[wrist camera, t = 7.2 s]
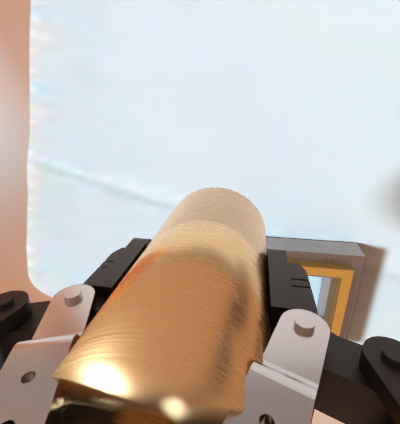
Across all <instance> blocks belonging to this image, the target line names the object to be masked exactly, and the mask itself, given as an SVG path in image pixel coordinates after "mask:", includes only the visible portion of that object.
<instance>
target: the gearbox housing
mask: <svg viewBox="0 0 400 424" xmlns="http://www.w3.org/2000/svg"><path fill="white" fill-rule="evenodd" d="M267 249H279V250H286V255H287V261H288V262H290V263H299V264H300V265H301V266H302V267H303V268H304V269H305V270H306V272H307V275H308V276H318V277H323V278H322V284H321V290H320V295H319V301H318V307H317V311H318V315H319V316H320V317H321V318H322V319H324V321H325V322H326V323H327V324H328V326H329V329H330V331H331V332H332V333H334V334H335V335H337V336H339V337H341V338H344V339H347V335H348V331H349V327H350V323H351V318H352V314H353V310H354V306H355V302H356V297H357V293H358V289H359V285H360V280H361V276H362V272H363V268H364V264H365V259H366V256H365V254H364V253H363V251H362V250H361V248H360V247H359V245H358V244H357V243H348V242H334V241H319V240H305V239H290V238H276V237H266V253H267Z"/></svg>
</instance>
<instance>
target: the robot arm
mask: <svg viewBox="0 0 400 424" xmlns="http://www.w3.org/2000/svg"><path fill="white" fill-rule="evenodd" d="M151 241H152V240H151V239H141V238H134V239H133V240H132V241H131V242H130V243H129V244H128V245H127V246H126V248H121V249H119V250H117V251H115V252H114V253H112V254H111V255H110V256H109V257H108V258H107V259H106V261H104V262H103V263H102V265H101V266H100V267H99V268H98V269H97V270H96V271H95V272H94V273H93V274H92V275H91V276H90V277H89V278H88V279H87V280H86V281H85V283H84V284H79V285H73V286H69V287H67V288H64V289H62V290H61V291H59V292H58V293H57V294H55V295H54V297H53V298H52V300H51V301H45V302H36V303H30V300H29V297H28V294H27V293H26V292H24V291H10V292H5V293H2V294H0V424H113V421H109V420H110V418H111V416H112V414H113V412H109V411H104V410H99V409H94V408H90V407H85V406H80V405H75V404H70V403H69V405H68V407H62V405H63V401H64V398H65V394H64V391H63V387H62V384H61V380H60V378H57V377H51V376H52V375H53V373H54V372H55V371H56V369H57V368H58V367H59V365H60V364H61V363H62V361H63V360H64V358H65V357H66V356H67V354H68V353H69V351H70V350H71V348H72V347H73V345H74V344H75V342H76V341H77V339H78V338H79V337H80V335H81V334H82V333H83V331H84V330H85V329H86V327H87V326H88V325H89V323H90V322H91V321H92V319H93V318H94V317H95V315H96V314H97V313H98V311H99V310H100V309H101V307H102V306H103V305H104V303H105V302H106V301H107V299H108V298H109V297H110V295H111V294H112V293H113V291H114V290H115V289H116V287H117V286H118V285H119V283H120V282H121V281H122V279H123V278H124V277H125V275H126V274H127V273H128V271H129V270H130V269H131V267H132V266H133V265H134V263H135V262H136V261H137V259H138V258H139V257H140V255H141V254H142V253H143V251H144V250H145V249H146V247H147V246H148V245H149V243H150V242H151ZM266 263H267V283H268V303H269V323H270V331H271V339H270V341H269V343H268V345H267V347H266V349H265V352H264V354H263V364H262V363H260V362H258V361H254V362H253V363H252V365H251V367H250V369H249V371H248V373H247V375H246V380H245V402H244V412H241V411H235V410H229V412H228V414H227V416H226V418H225V420H224V422H223V424H311V423H312V417H313V413H314V409H316V410H318V411H320V412H322V413H324V414H326V415H328V416H330V417H332V418H335V419H337V420H338V421H341V422H343V423H345V424H400V342H399V341H397V340H394V339H391V338H387V337H381V336H376V337H371V338H368V339H367V340H366V341H365V342H364V344H363V345H360V344H357V343H354V342H352V341H349V340H346V339H344V338H341V337H339V336H337V335H335V334H334V333H332V332H331V331H330V329H329V326H328V324H327V323H326V322H325V321H324V319H322V318H321V317H320V316H319V315H318V311H317V308H316V304H315V301H314V297H313V293H312V290H311V286H310V283H309V279H308V275H307V272H306V270H305V269H304V268H303V267H302V266H301V265H300V264H299V263H290V262H288V261H287V255H286V250H279V249H267V253H266Z"/></svg>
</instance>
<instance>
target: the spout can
mask: <svg viewBox="0 0 400 424" xmlns="http://www.w3.org/2000/svg"><path fill="white" fill-rule="evenodd" d="M270 339H271V331H270V323H269V303H268V283H267V263H266V236H265V226H264V222H263V219H262V217H261V214H260V213H259V211H258V210H257V208H256V207H255V206H254V205H253V203H252V202H250V201H249V200H248V199H247V198H246V197H244V196H243V195H241V194H239V193H237V192H235V191H232V190H229V189H224V188H206V189H201V190H198V191H196V192H193V193H192V194H190V195H188V196H187V197H186V198H184V199H183V200H182V201H181V202H180V204H179V205H178V206H177V207H176V209H175V210H174V211H173V213H172V214H171V215H170V217H169V218H168V219H167V221H166V222H165V223H164V225H163V226H162V227H161V229H160V230H159V231H158V233H157V234H156V235H155V237H154V238H153V239H152V241H151V242H150V243H149V245H148V246H147V247H146V249H145V250H144V251H143V253H142V254H141V255H140V257H139V258H138V259H137V261H136V262H135V263H134V265H133V266H132V267H131V269H130V270H129V271H128V273H127V274H126V275H125V277H124V278H123V279H122V281H121V282H120V283H119V285H118V286H117V287H116V289H115V290H114V291H113V293H112V294H111V295H110V297H109V298H108V299H107V301H106V302H105V303H104V305H103V306H102V307H101V309H100V310H99V311H98V313H97V314H96V315H95V317H94V318H93V319H92V321H91V322H90V323H89V325H88V326H87V327H86V329H85V330H84V331H83V333H82V334H81V335H80V337H79V338H78V339H77V341H76V342H75V344H74V345H73V347H72V348H71V350H70V351H69V353H68V354H67V356H66V357H65V358H64V360H63V361H62V363H61V364H60V365H59V367H58V368H57V369H56V371H55V372H54V373H53V375H52V376H51V377H57V378H60V380H61V384H62V387H63V391H64V394H65V398H64V401H63V405H62V407H68V405H69V403H70V404H75V405H80V406H85V407H90V408H94V409H99V410H104V411H109V412H113V414H112V416H111V418H110V420H109V421H113V424H223V422H224V420H225V418H226V416H227V414H228V412H229V410H235V411H241V412H244V402H245V380H246V375H247V373H248V371H249V369H250V367H251V365H252V363H253V362H254V361H258V362H260V363H262V364H263V354H264V352H265V349H266V347H267V345H268V343H269V341H270Z"/></svg>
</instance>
